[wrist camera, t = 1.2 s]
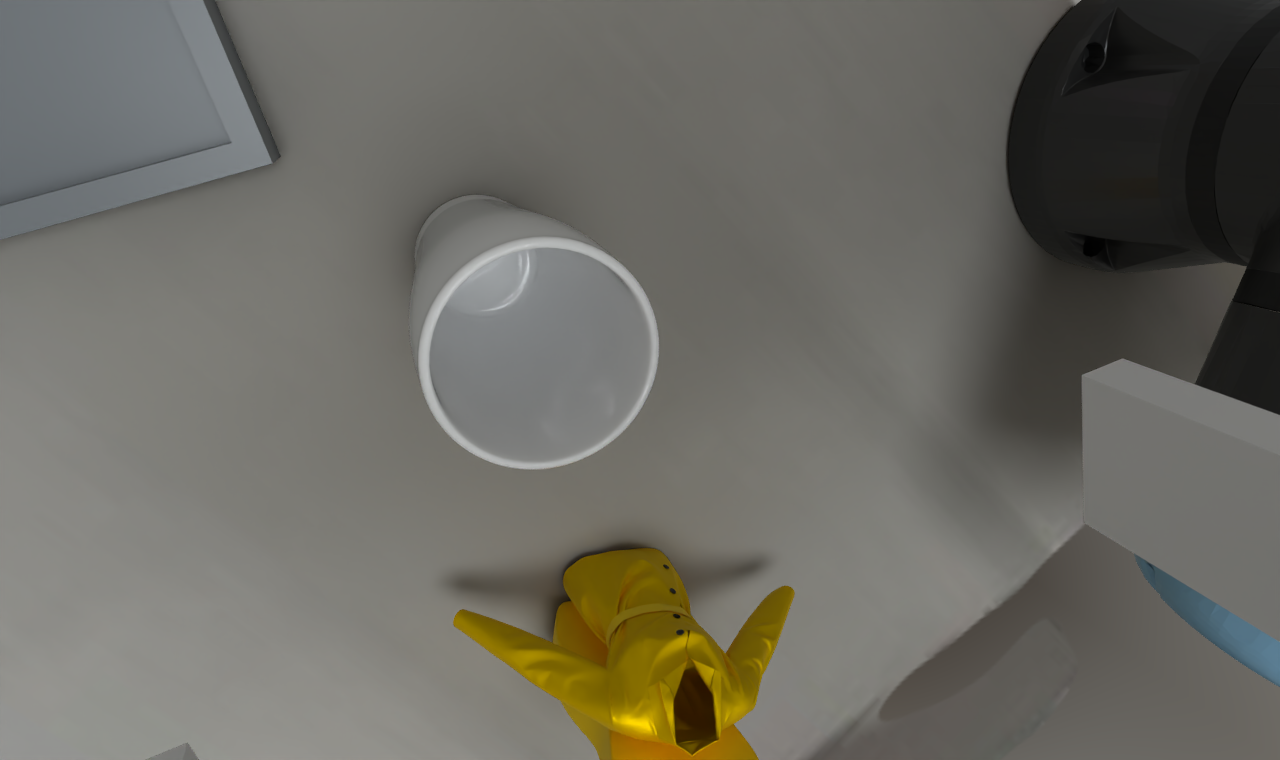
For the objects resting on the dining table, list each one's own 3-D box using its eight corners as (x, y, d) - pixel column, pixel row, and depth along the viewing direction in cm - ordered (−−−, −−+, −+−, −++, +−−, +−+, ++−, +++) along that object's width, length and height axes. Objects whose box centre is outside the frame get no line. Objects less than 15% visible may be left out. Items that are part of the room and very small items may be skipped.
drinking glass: (371, 201, 33) (375, 281, 19) (528, 156, 34) (632, 201, 21) (427, 349, 36) (463, 509, 22) (570, 302, 37) (686, 426, 24)
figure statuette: (771, 528, 45) (1085, 872, 25) (747, 645, 47) (1017, 1043, 28) (448, 541, 39) (531, 1003, 19) (440, 675, 41) (506, 1206, 22)
